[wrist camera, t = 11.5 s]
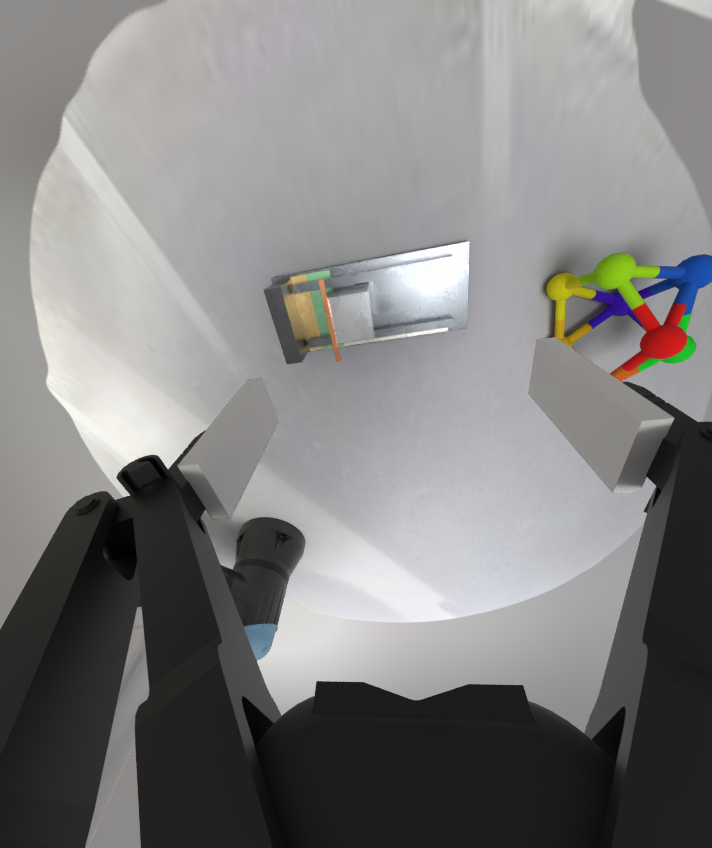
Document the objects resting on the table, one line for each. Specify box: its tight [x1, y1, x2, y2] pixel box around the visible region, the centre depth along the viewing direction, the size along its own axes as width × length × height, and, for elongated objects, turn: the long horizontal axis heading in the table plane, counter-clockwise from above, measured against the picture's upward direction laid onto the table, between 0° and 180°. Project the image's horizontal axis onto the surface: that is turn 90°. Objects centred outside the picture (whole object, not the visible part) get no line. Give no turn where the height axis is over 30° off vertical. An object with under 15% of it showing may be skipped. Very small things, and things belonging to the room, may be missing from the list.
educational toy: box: [546, 253, 712, 381], centre depth 33 cm, size 16×13×15 cm
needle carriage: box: [318, 279, 375, 361], centre depth 37 cm, size 5×9×6 cm, turn 10°
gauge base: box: [264, 241, 469, 364], centre depth 38 cm, size 24×10×6 cm, turn 100°
